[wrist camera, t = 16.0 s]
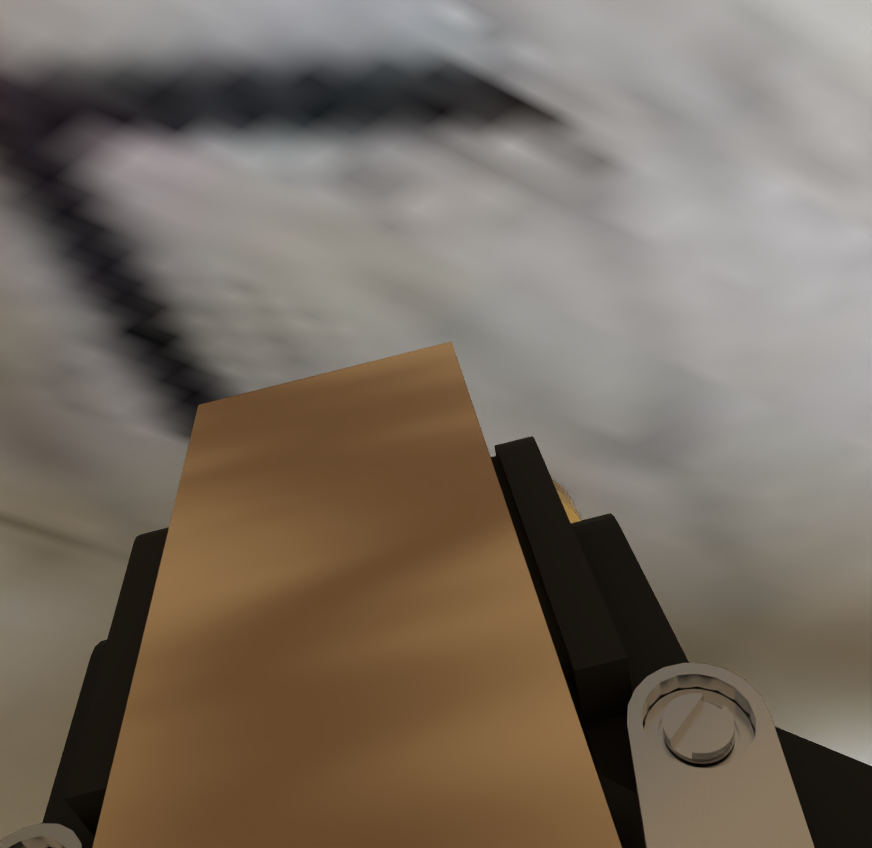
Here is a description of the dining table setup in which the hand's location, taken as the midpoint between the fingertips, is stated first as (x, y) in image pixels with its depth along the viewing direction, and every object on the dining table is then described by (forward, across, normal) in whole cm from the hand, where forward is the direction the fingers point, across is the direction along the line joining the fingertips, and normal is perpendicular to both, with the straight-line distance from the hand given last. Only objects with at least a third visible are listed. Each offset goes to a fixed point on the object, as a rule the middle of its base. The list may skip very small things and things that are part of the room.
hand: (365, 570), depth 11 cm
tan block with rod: (+2, 0, +7) cm, 7 cm away
